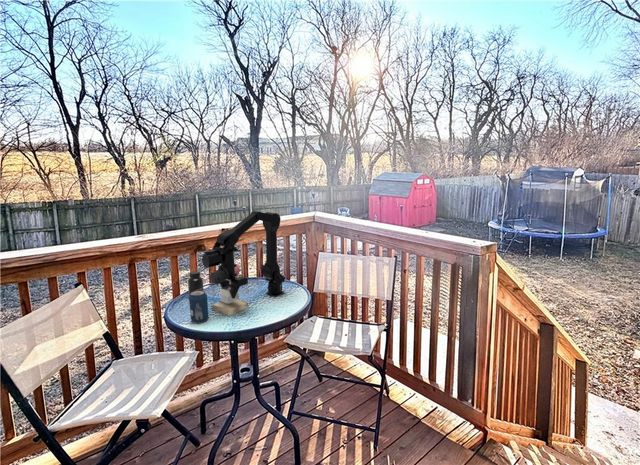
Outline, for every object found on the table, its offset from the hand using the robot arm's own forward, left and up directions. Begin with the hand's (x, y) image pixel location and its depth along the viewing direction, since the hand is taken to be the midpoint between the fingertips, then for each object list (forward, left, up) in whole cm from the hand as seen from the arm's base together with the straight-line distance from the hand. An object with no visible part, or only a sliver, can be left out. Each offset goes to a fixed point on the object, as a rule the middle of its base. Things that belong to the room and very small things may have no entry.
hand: (229, 297), depth 164 cm
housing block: (0, 0, -2) cm, 2 cm away
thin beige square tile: (0, 0, -6) cm, 6 cm away
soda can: (+15, -1, -6) cm, 16 cm away
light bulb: (-20, -22, -6) cm, 30 cm away
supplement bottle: (0, -25, -6) cm, 26 cm away
